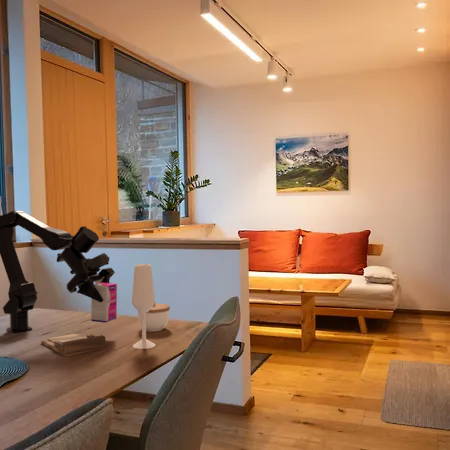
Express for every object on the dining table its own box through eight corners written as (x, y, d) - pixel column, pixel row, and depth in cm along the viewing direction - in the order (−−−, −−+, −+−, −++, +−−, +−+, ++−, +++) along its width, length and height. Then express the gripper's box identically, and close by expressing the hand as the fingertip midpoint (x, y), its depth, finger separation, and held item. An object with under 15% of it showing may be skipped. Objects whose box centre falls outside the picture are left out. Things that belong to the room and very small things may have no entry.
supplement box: (106, 323, 160) (106, 285, 159) (90, 321, 162) (90, 284, 161) (117, 319, 165) (117, 283, 165) (101, 317, 167) (101, 282, 167)
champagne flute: (143, 341, 159) (142, 263, 158) (160, 344, 156) (159, 264, 155) (127, 346, 154) (126, 265, 153) (144, 350, 150) (143, 266, 149)
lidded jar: (131, 331, 172) (130, 303, 171) (148, 324, 182) (147, 297, 181) (160, 334, 168) (159, 305, 167) (175, 327, 178) (175, 299, 177)
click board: (41, 343, 158) (41, 332, 158) (78, 336, 166) (78, 325, 166) (66, 356, 144) (65, 344, 144) (105, 348, 152) (105, 336, 152)
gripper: (74, 248, 155) (106, 287, 152) (109, 243, 173) (138, 278, 169) (52, 273, 158) (83, 312, 155) (89, 265, 176) (118, 300, 172)
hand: (107, 299), depth 163 cm, fingers closed on supplement box, 6 cm apart
